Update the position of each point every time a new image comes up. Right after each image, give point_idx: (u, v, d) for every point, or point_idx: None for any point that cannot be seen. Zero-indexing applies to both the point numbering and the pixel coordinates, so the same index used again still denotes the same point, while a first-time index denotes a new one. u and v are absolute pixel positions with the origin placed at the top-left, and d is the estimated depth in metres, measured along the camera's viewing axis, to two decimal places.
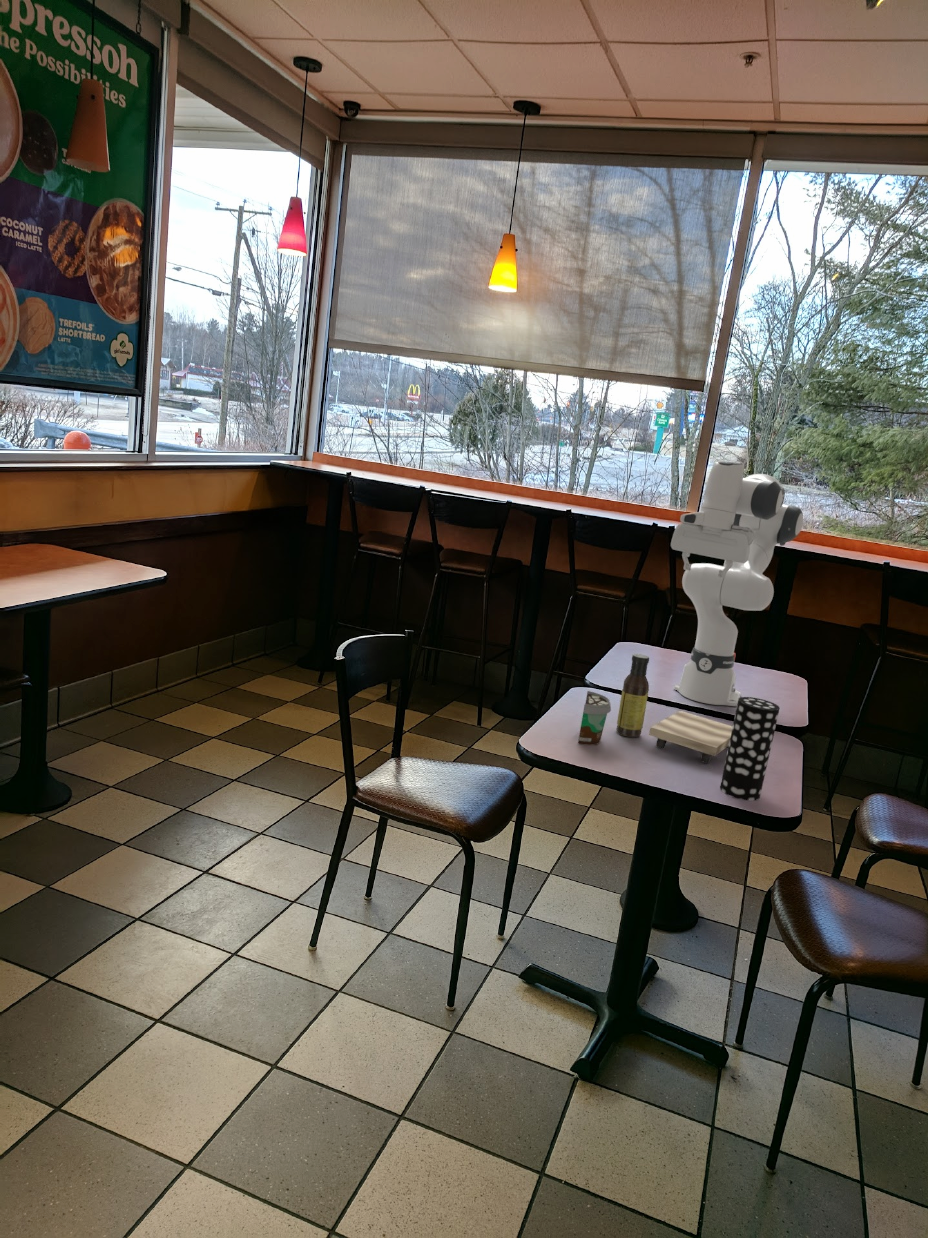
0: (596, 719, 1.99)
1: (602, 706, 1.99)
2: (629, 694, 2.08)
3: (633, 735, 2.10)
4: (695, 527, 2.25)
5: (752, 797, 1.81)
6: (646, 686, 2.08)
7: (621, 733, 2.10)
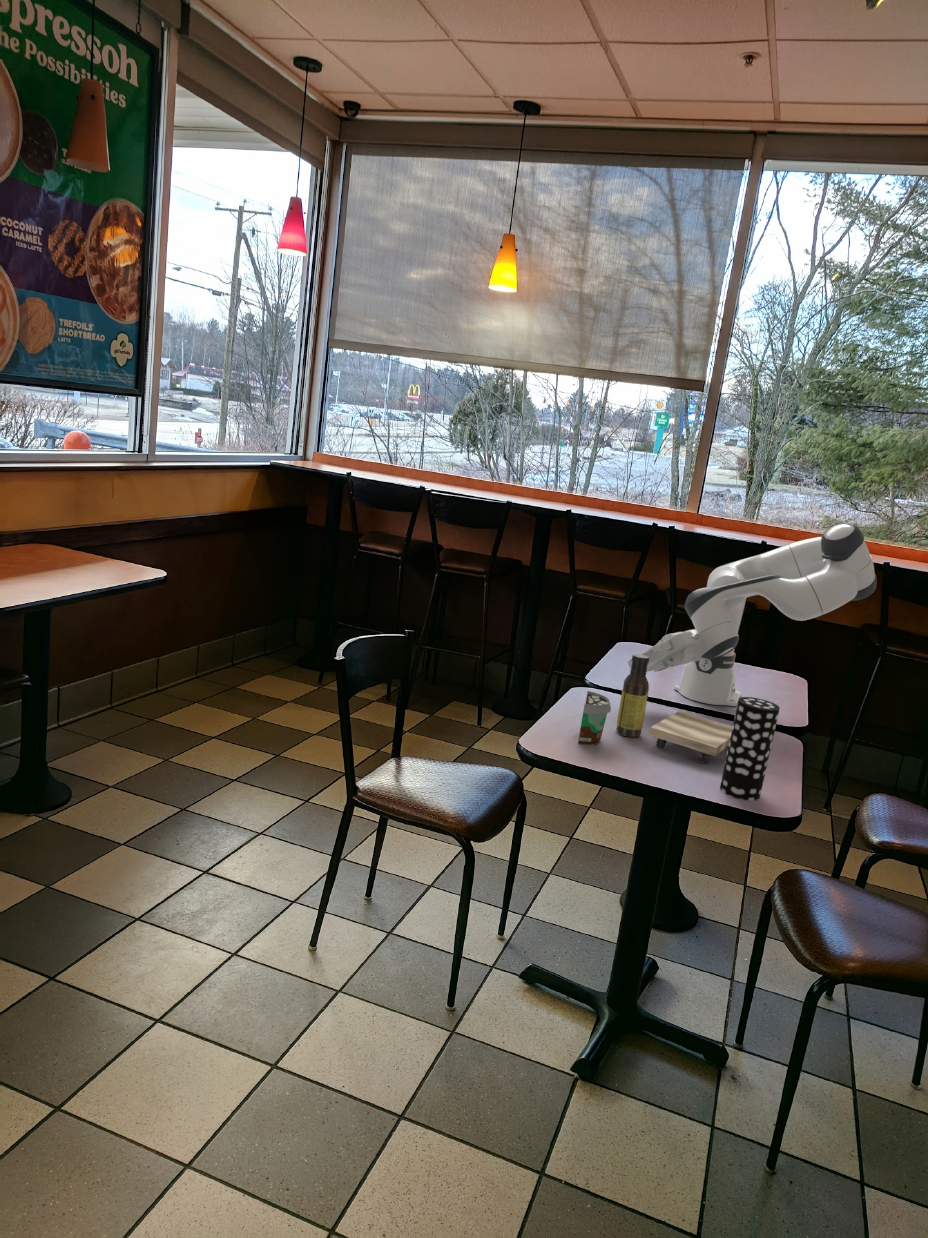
0: (596, 719, 1.99)
1: (602, 706, 1.99)
2: (629, 694, 2.08)
3: (633, 735, 2.10)
4: None
5: (752, 797, 1.81)
6: (646, 686, 2.08)
7: (621, 733, 2.10)
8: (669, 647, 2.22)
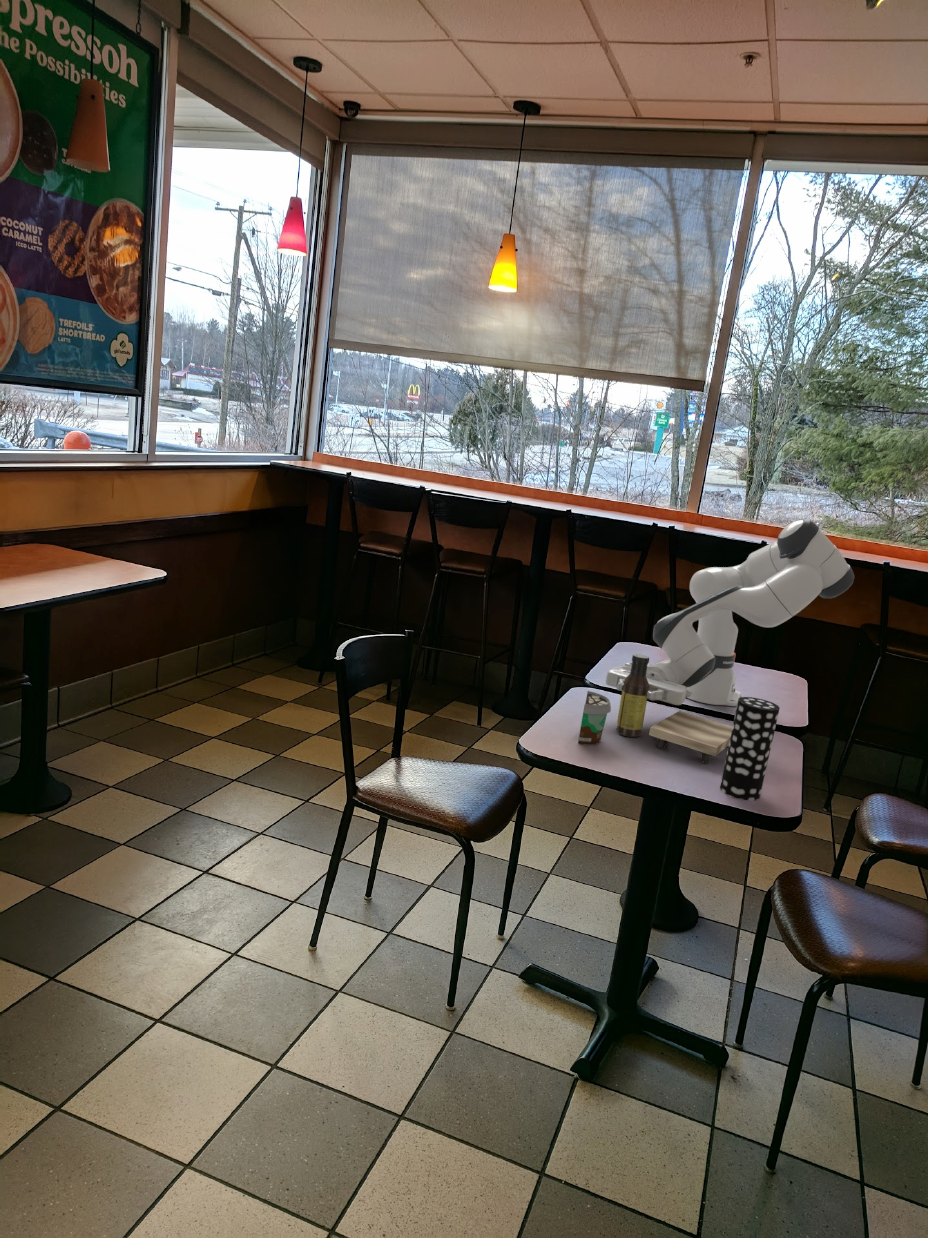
0: (596, 719, 1.99)
1: (602, 706, 1.99)
2: (629, 694, 2.08)
3: (633, 735, 2.10)
4: None
5: (752, 797, 1.81)
6: (646, 686, 2.08)
7: (621, 733, 2.10)
8: (660, 698, 2.10)
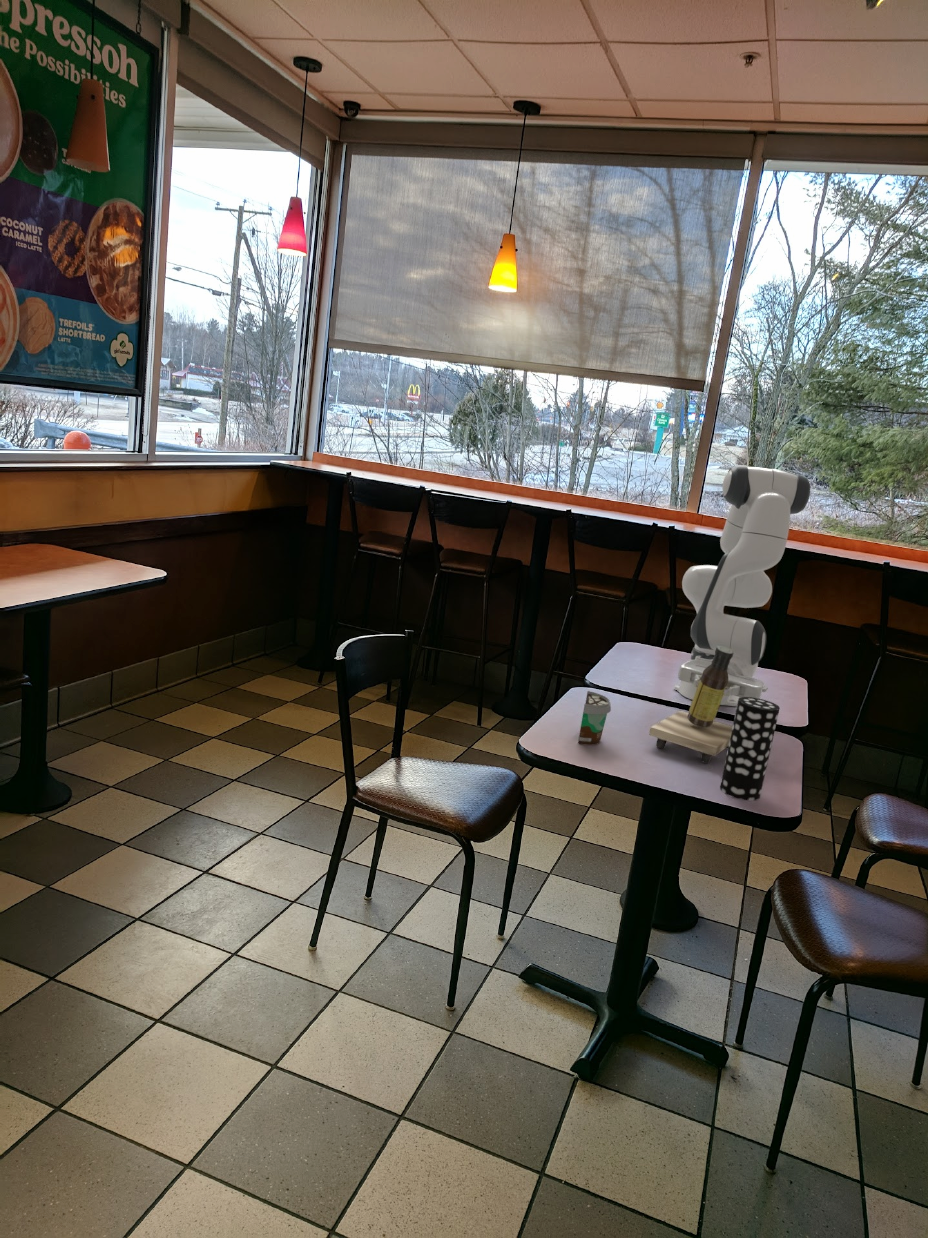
0: (596, 719, 1.99)
1: (602, 706, 1.99)
2: (707, 687, 2.03)
3: (704, 726, 2.07)
4: (711, 662, 2.16)
5: (752, 797, 1.81)
6: (726, 680, 2.03)
7: (692, 722, 2.07)
8: (737, 694, 2.06)
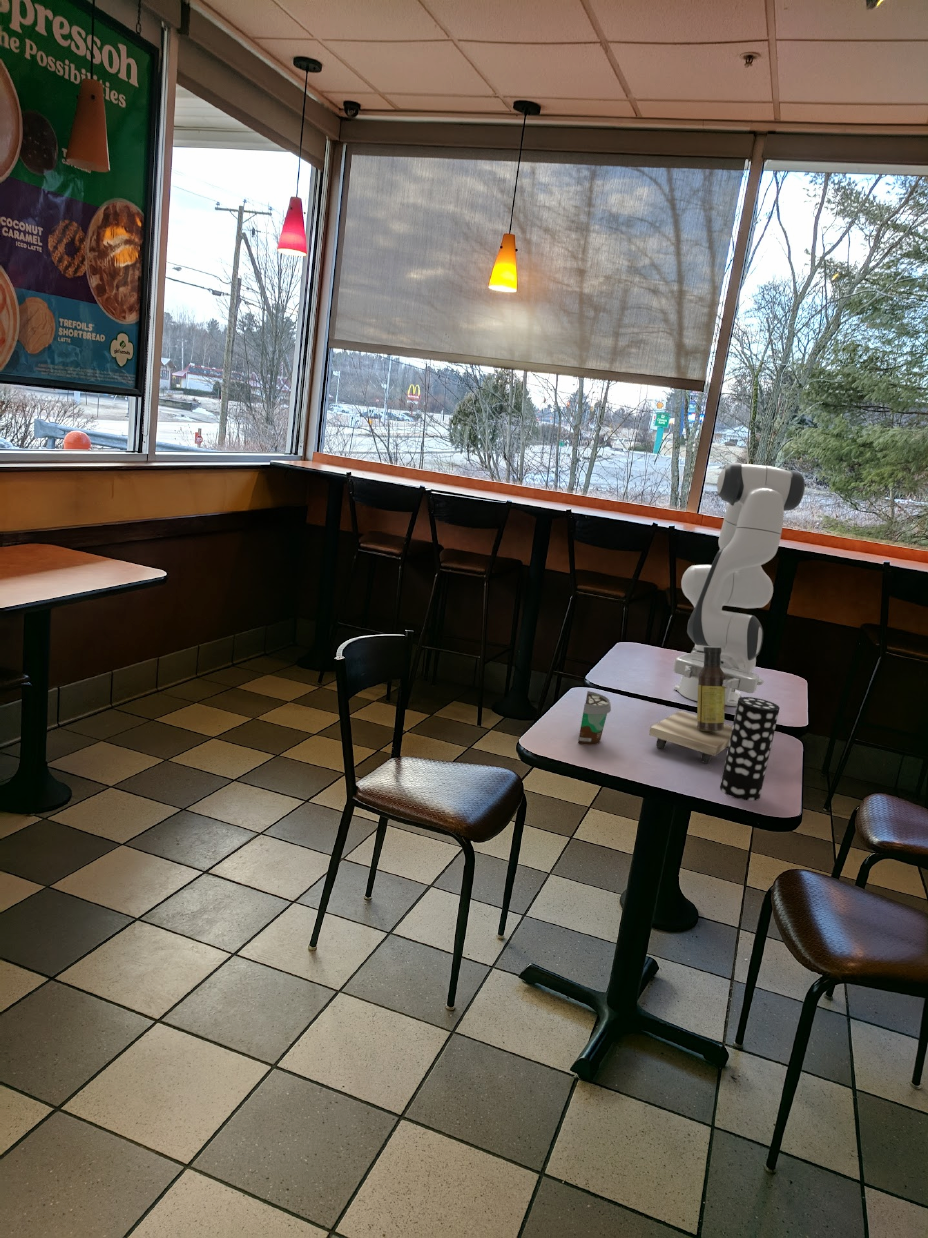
0: (596, 719, 1.99)
1: (602, 706, 1.99)
2: (706, 686, 2.03)
3: (716, 729, 2.03)
4: None
5: (752, 797, 1.81)
6: (722, 676, 2.03)
7: (703, 728, 2.04)
8: (736, 686, 2.04)
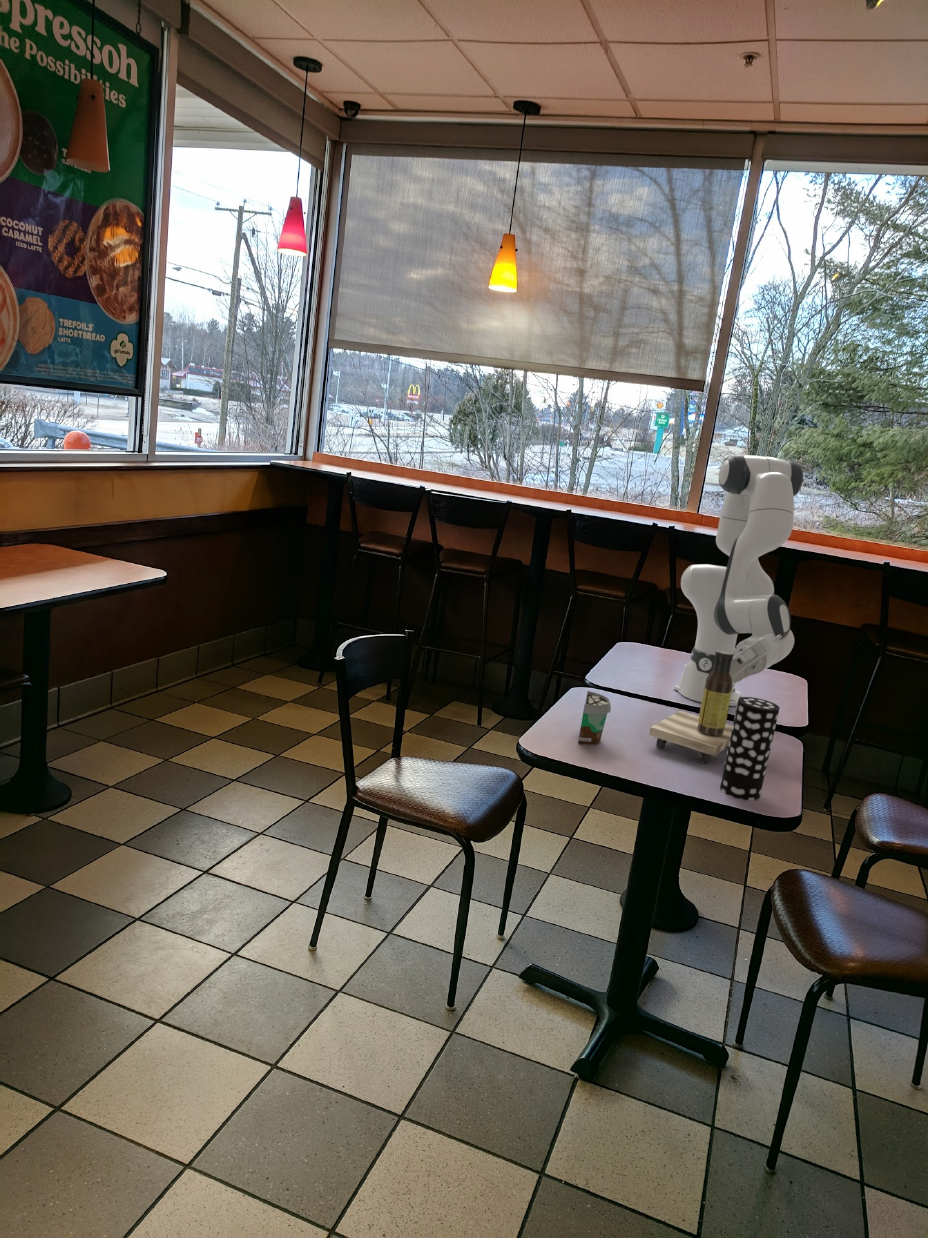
0: (596, 719, 1.99)
1: (602, 706, 1.99)
2: (713, 691, 2.01)
3: (716, 734, 2.03)
4: None
5: (752, 797, 1.81)
6: (730, 683, 2.01)
7: (703, 732, 2.04)
8: (753, 655, 2.04)
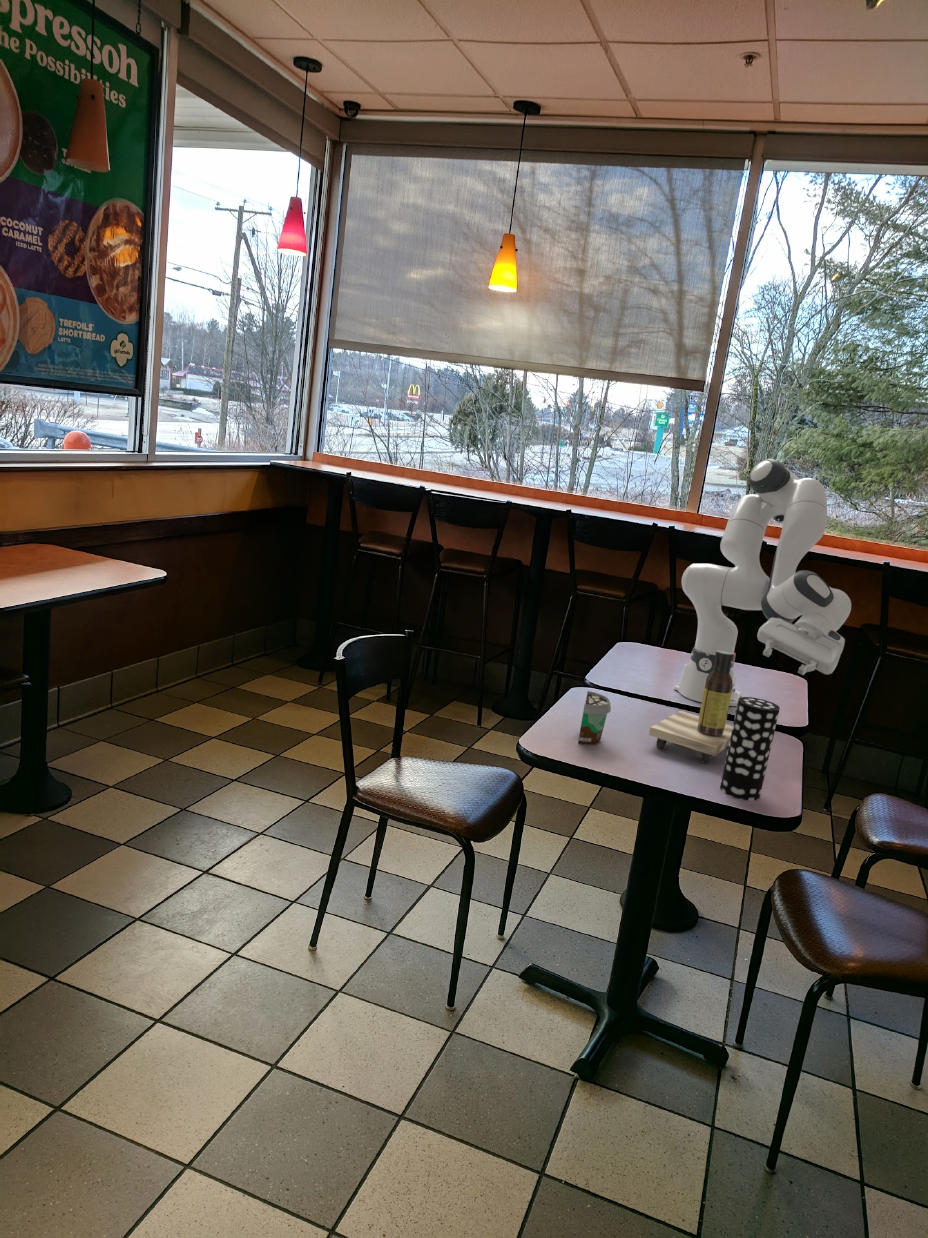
0: (596, 719, 1.99)
1: (602, 706, 1.99)
2: (713, 691, 2.01)
3: (716, 734, 2.03)
4: None
5: (752, 797, 1.81)
6: (730, 683, 2.01)
7: (703, 732, 2.04)
8: (766, 641, 2.18)
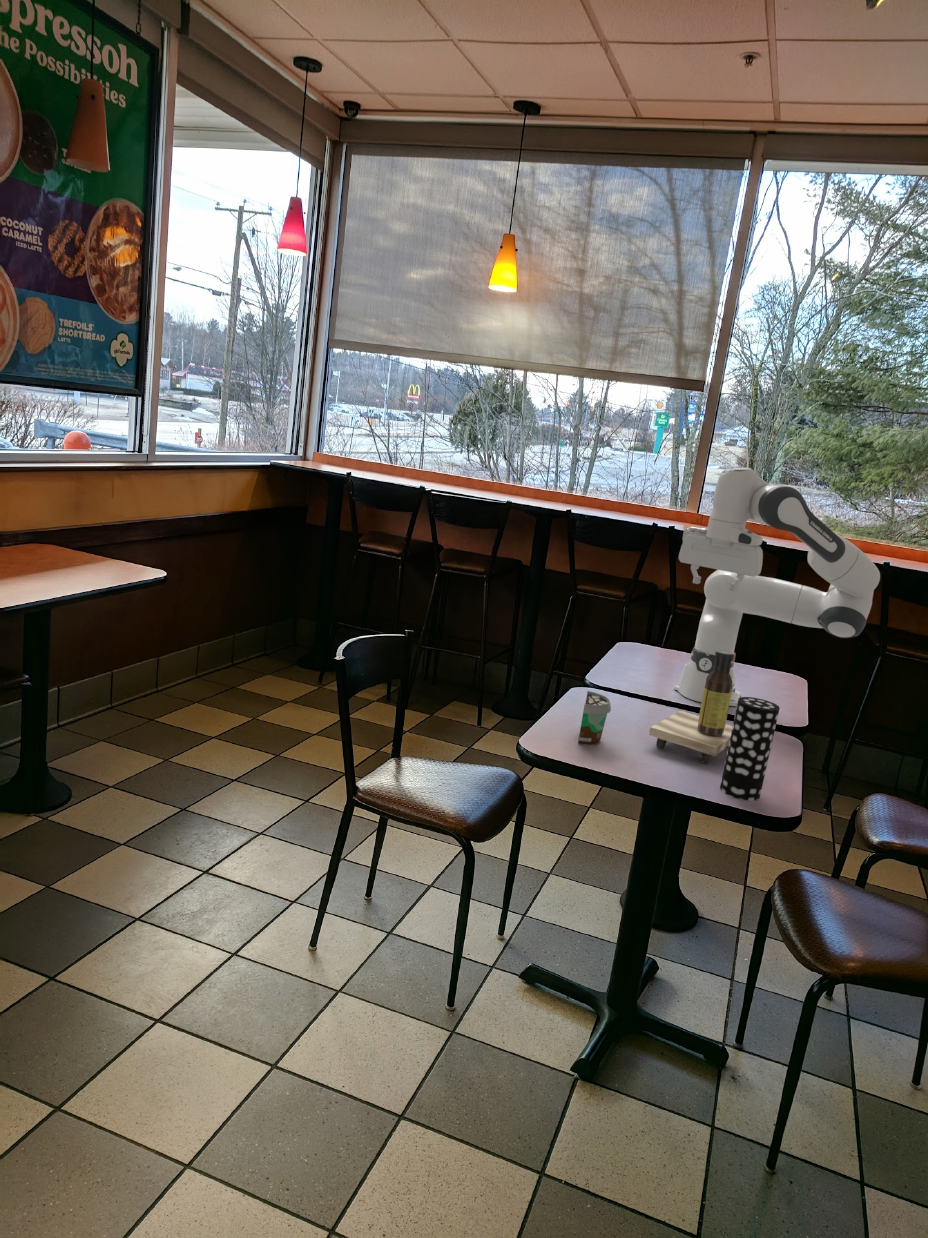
0: (596, 719, 1.99)
1: (602, 706, 1.99)
2: (713, 691, 2.01)
3: (716, 734, 2.03)
4: None
5: (752, 797, 1.81)
6: (730, 683, 2.01)
7: (703, 732, 2.04)
8: None
